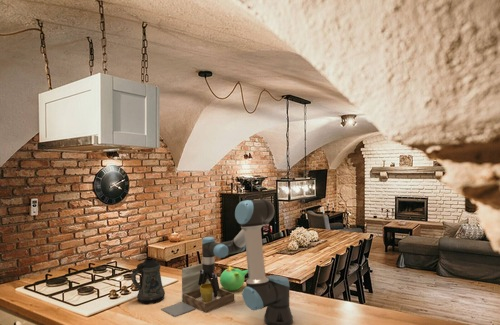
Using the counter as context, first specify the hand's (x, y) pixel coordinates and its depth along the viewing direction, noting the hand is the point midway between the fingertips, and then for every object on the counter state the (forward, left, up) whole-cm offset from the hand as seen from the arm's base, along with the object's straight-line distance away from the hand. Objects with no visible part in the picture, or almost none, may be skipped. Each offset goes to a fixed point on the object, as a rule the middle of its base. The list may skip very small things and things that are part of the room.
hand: (208, 299), depth 208 cm
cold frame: (0, 0, -1) cm, 1 cm away
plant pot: (0, 0, -1) cm, 1 cm away
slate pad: (+4, +19, -1) cm, 19 cm away
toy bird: (+5, -25, -2) cm, 26 cm away
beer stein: (+29, +23, -2) cm, 37 cm away
